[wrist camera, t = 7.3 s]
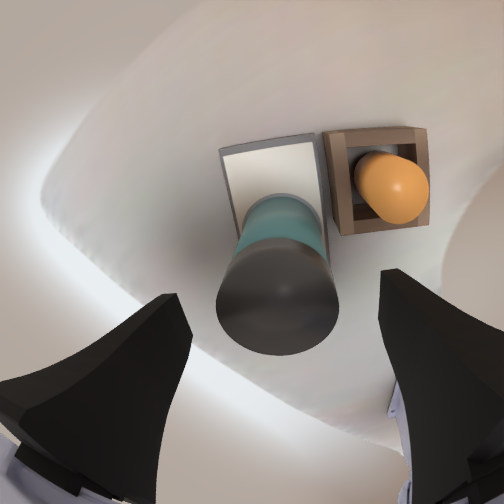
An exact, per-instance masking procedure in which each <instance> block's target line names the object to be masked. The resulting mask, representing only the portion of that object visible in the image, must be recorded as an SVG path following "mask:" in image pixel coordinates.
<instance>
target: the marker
mask: <svg viewBox="0 0 504 504" xmlns="http://www.w3.org/2000/svg"><path fill="white" fill-rule="evenodd" d="M216 313H217V317H218V320H219V322H220V324H221V326H222V328H223V329H224V331H225V332H226V333H227V334H228V335H229V336H230V337H231V338H232V339H233V340H234V341H235V342H237V343H238V344H239V345H241V346H243V347H245V348H247V349H249V350H251V351H254V352H257V353H261V354H266V355H275V356H283V355H292V354H297V353H300V352H303V351H306V350H308V349H310V348H313V347H314V346H316V345H318V344H319V343H320V342H322V341H323V340H324V339H325V338H326V337H327V336H328V335H329V334H330V332H331V331H332V330H333V328H334V326H335V324H336V321H337V319H338V314H339V301H338V296H337V292H336V288H335V284H334V280H333V275H332V272H331V269H330V267H329V265H328V261H327V257H326V253H325V249H324V245H323V241H322V237H321V234H320V230H319V226H318V223H317V220H316V217H315V215H314V214H313V212H312V211H311V210H310V209H309V207H308V206H306V205H305V204H304V203H302V202H301V201H299V200H296V199H294V198H290V197H273V198H270V199H267V200H265V201H263V202H261V203H260V204H258V205H257V206H256V207H255V208H254V209H253V210H252V211H251V213H250V215H249V216H248V219H247V221H246V224H245V226H244V229H243V232H242V234H241V237H240V240H239V242H238V245H237V248H236V250H235V253H234V256H233V258H232V261H231V262H230V264H229V266H228V268H227V271H226V273H225V276H224V278H223V281H222V284H221V286H220V289H219V292H218V295H217V299H216Z"/></svg>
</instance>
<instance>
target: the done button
mask: <svg viewBox="0 0 504 504" xmlns="http://www.w3.org/2000/svg"><path fill="white" fill-rule="evenodd" d="M354 183H355V187H356V189H357V191H358V193H359V194H360V195H361V196H362V198H363V199H364V200H365V201H366V202H367V203H368V204H369V205H370V206H371V208H372V209H373V210H374V211H375V212H376V213H377V214H378V215H379V216H380V217H381V218H382V219H383V220H385V221H387V222H389V223H393V224H404V223H407V222H410V221H412V220H413V219H415V218H416V217H417V216H418V215H419V214H420V213H421V212H422V211H423V209H424V207H425V205H426V203H427V200H428V195H429V185H428V181H427V178H426V176H425V174H424V172H423V171H422V169H421V168H420V167H419V166H418V165H416V164H415V163H413V162H411V161H409V160H406V159H404V158H401V157H399V156H396V155H394V154H391V153H388V152H385V151H373V152H370V153H368V154H366V155H364V156H363V157H362V158H361V159H360V160H359V162H358V163H357V165H356V168H355V171H354Z"/></svg>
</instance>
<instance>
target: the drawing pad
mask: <svg viewBox="0 0 504 504" xmlns="http://www.w3.org/2000/svg"><path fill="white" fill-rule="evenodd" d="M219 154H220V159H221V163H222V168H223V172H224V177H225V181H226V186H227V190H228V194H229V199H230V203H231V208H232V212H233V216H234V221H235V225H236V230H237V234H238V238H239V240H240V237H241V234H242V232H243V229H244V226H245V224H246V221H247V219H248V216H249V215H250V213H251V211H252V210H253V209H254V208H255V207H256V206H257V205H258V204H260V203H261V202H263V201H265V200H267V199H270V198H273V197H290V198H294V199H296V200H299V201H301V202H302V203H304V204H305V205H306V206H308V207H309V209H310V210H311V211H312V212H313V214H314V215H315V217H316V220H317V223H318V226H319V230H320V234H321V237H322V241H323V245H324V249H325V253H326V257H327V261H328V265H329V267H330V256H329V244H328V233H327V223H326V213H325V204H324V196H323V188H322V180H321V173H320V165H319V159H318V152H317V146H316V139H315V134H314V133H310V134H302V135H294V136H287V137H281V138H274V139H268V140H262V141H256V142H251V143H246V144H240V145H235V146H230V147H225V148H221V149H219Z"/></svg>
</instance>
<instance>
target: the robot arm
mask: <svg viewBox="0 0 504 504" xmlns="http://www.w3.org/2000/svg"><path fill="white" fill-rule="evenodd" d="M378 321H379V325H380V329H381V333H382V338H383V342H384V345H385V348H386V350H387V353H388V356H389V359H390V362H391V364H392V367H393V370H394V373H395V376H396V379H397V382H396V386H395V389H394V393H393V396H392V399H391V403H390V406H389V409H388V412H387V417H388V418H393V417H396V419H397V424H398V428H399V433H400V438H401V443H402V448H403V454H404V458H405V461H406V463H407V465H408V466H409V467H410V468H411V470H409V475H410V479H408V480H407V481H406V482H405V483H404V484H403V487H402V489H401V491H400V493H399V496H398V503H397V504H504V332H503V331H501V330H499V329H496V328H494V327H492V326H490V325H487V324H486V323H484V322H482V321H480V320H478V319H476V318H474V317H472V316H470V315H468V314H467V313H465V312H463V311H461V310H460V309H458V308H457V307H455V306H453V305H451V304H450V303H448V302H447V301H445V300H444V299H442V298H441V297H439V296H438V295H436V294H435V293H433V292H432V291H430V290H429V289H427V288H426V287H425V286H423V285H422V284H420V283H419V282H417V281H416V280H415V279H413V278H412V277H410V276H409V275H407V274H406V273H404V272H403V271H401V270H399V269H398V268H396V269H390V270H383V271H381V278H380V298H379V312H378ZM192 338H193V334H192V331H191V329H190V327H189V324H188V322H187V319H186V317H185V314H184V312H183V309H182V306H181V304H180V301H179V299H178V296H177V293H171V294H162V295H160V296H158V297H157V298H155V299H154V300H152V301H151V302H149V303H148V304H146V305H145V306H144V307H142V308H141V309H140V310H138V311H137V312H136V313H134V314H133V315H132V316H130V317H129V318H128V319H126V320H125V321H124V322H123V323H121V324H120V325H118V326H117V327H116V328H114V329H113V330H111V331H110V332H109V333H107V334H106V335H104V336H103V337H101V338H100V339H99V340H97V341H96V342H94V343H92V344H91V345H89V346H88V347H86V348H85V349H83V350H81V351H79V352H77V353H76V354H74V355H72V356H70V357H68V358H66V359H64V360H62V361H60V362H58V363H56V364H54V365H51V366H49V367H47V368H44V369H42V370H39V371H36V372H33V373H30V374H27V375H24V376H21V377H17V378H13V379H9V380H5V381H2V382H0V422H1V423H2V424H3V425H4V426H5V427H6V428H7V429H8V430H9V431H10V432H11V433H12V434H13V435H14V436H15V437H17V439H19V440H20V441H21V444H20V446H19V447H18V446H17V445H16V444H14V443H13V442H12V441H11V440H9V439H8V438H7V437H5V436H4V435H3V434H2V433H0V504H120V503H117V502H115V501H112V498H113V499H116V500H118V501H121V502H122V501H125V502H128V503H131V504H155V503H156V478H157V469H158V460H159V453H160V447H161V442H162V437H163V432H164V427H165V423H166V418H167V414H168V411H169V408H170V405H171V402H172V399H173V397H174V394H175V392H176V389H177V387H178V384H179V381H180V378H181V376H182V373H183V371H184V368H185V365H186V362H187V359H188V356H189V352H190V348H191V343H192Z"/></svg>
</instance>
